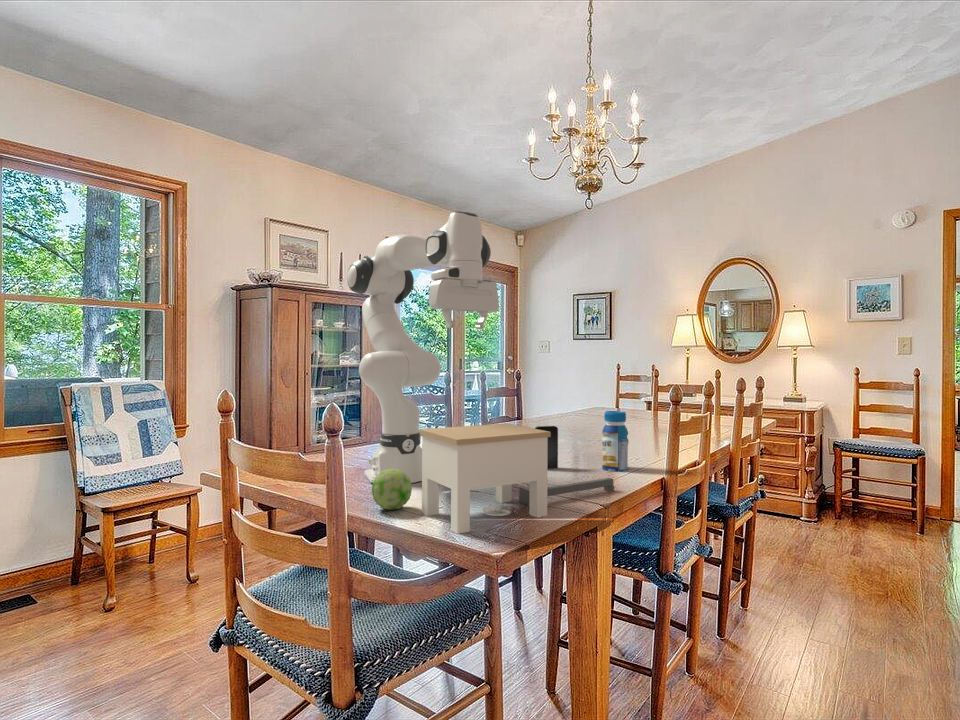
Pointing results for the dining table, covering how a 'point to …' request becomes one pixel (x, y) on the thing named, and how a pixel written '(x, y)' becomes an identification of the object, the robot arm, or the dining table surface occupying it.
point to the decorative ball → (391, 489)
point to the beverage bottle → (615, 442)
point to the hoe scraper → (569, 488)
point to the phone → (551, 446)
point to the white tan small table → (483, 466)
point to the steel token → (497, 510)
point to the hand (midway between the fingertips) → (465, 328)
